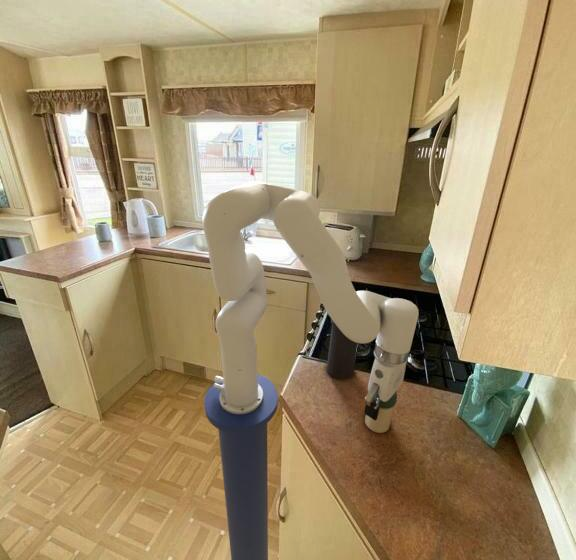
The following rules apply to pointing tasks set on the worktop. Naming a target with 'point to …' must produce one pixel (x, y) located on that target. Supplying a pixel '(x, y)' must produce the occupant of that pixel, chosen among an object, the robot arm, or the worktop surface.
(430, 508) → the worktop surface
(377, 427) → the jam jar
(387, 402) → the jam lid
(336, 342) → the container
